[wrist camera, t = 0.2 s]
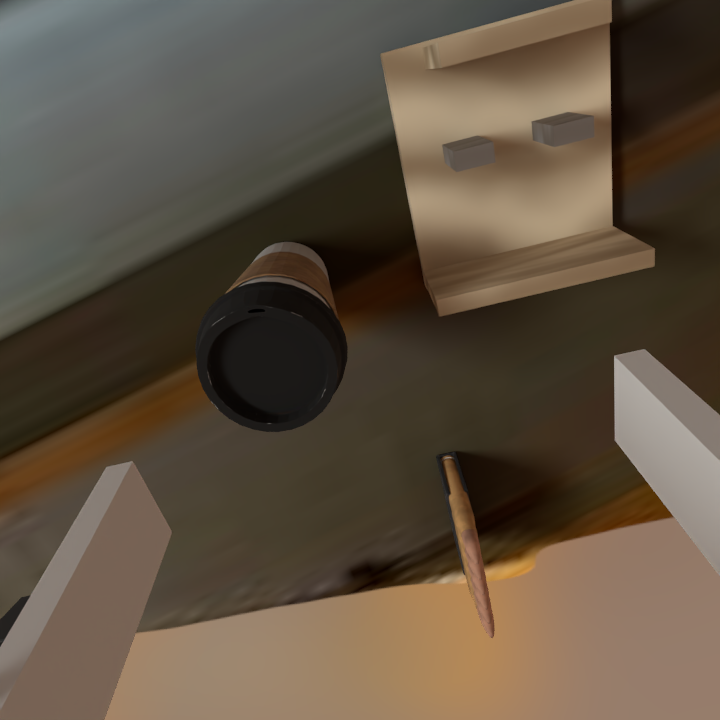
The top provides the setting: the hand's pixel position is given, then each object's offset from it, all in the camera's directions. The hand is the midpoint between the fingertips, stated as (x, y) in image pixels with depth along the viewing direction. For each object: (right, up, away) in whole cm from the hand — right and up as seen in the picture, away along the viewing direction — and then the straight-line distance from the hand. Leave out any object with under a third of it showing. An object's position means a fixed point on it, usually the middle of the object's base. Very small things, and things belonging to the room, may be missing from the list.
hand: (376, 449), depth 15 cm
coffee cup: (-6, +9, +26) cm, 28 cm away
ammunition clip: (+9, -11, +37) cm, 40 cm away
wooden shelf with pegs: (+10, +17, +23) cm, 30 cm away
